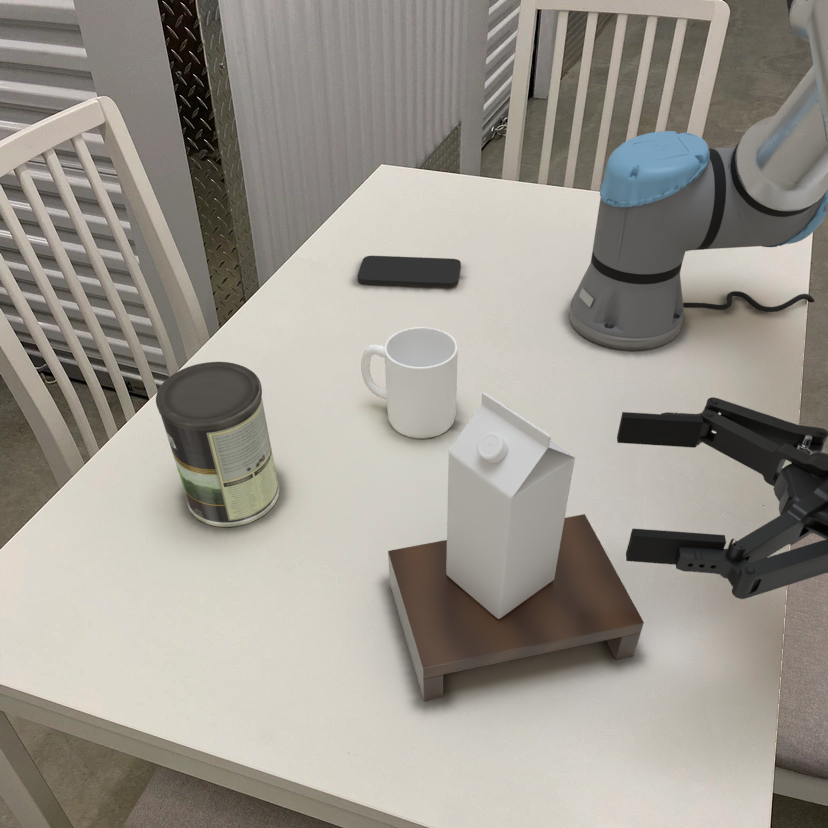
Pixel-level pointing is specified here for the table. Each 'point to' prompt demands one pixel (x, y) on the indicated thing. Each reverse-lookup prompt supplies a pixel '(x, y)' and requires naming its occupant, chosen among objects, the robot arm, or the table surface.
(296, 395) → the table surface
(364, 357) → the cup
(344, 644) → the table surface
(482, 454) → the milk carton
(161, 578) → the table surface
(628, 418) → the robot arm
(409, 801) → the table surface
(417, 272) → the phone
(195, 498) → the coffee can
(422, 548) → the shelf
